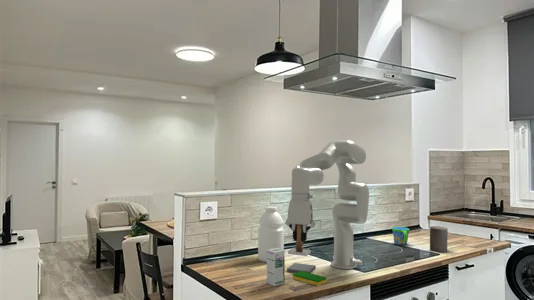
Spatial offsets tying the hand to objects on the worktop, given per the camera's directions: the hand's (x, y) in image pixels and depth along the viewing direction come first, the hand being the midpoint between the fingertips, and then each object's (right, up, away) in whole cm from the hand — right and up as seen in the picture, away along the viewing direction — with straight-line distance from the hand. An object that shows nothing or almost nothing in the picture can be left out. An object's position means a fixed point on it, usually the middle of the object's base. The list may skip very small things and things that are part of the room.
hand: (299, 240), depth 152 cm
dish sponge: (+5, -21, +9) cm, 23 cm away
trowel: (0, -5, 0) cm, 5 cm away
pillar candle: (+89, -22, +65) cm, 113 cm away
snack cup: (+72, -23, +80) cm, 110 cm away
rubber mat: (+3, -20, +24) cm, 31 cm away
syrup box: (-10, -20, +5) cm, 23 cm away
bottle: (-12, -21, +42) cm, 48 cm away
